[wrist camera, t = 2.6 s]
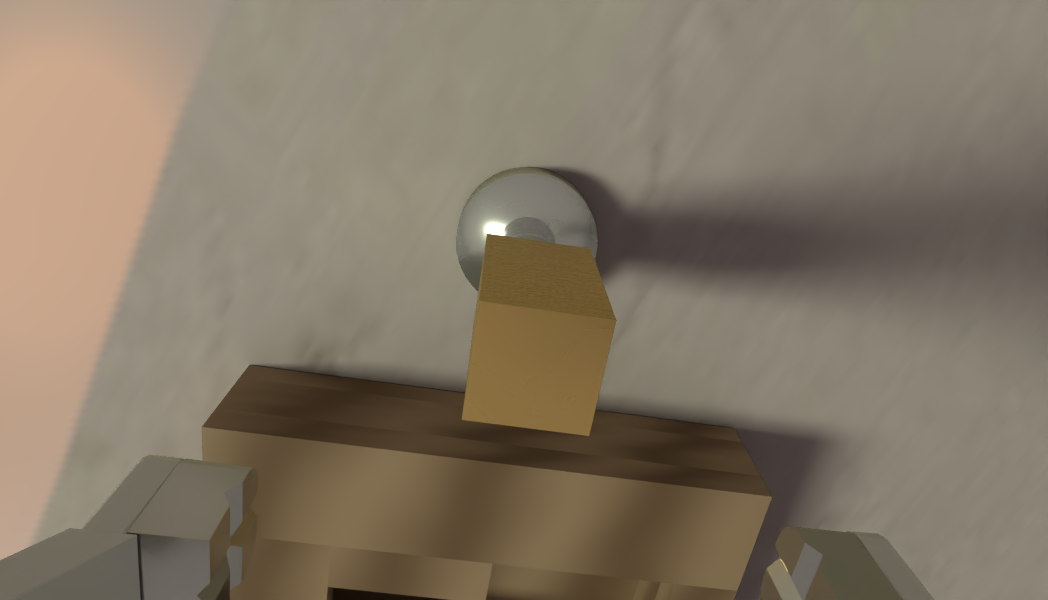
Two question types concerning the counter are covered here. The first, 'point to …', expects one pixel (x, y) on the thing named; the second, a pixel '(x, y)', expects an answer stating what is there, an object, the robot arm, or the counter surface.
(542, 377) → the keyhole peg
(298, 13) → the counter surface
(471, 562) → the keyhole plate
